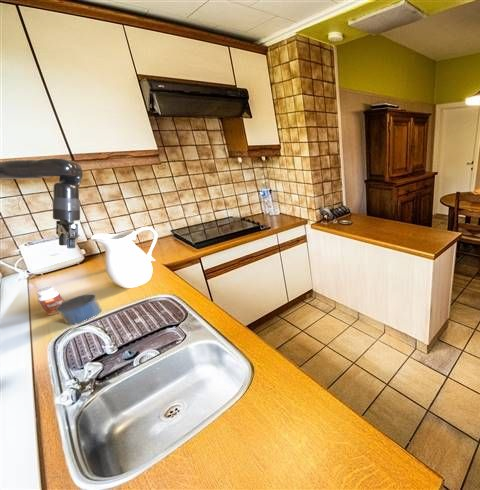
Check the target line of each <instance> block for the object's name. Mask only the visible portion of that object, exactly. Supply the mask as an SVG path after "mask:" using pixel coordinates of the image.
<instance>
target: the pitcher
mask: <svg viewBox="0 0 480 490" xmlns="http://www.w3.org/2000/svg"><path fill="white" fill-rule="evenodd" d="M143 231H149V232H151V233H152V235H153V239H152V242H151V244H150V247H149V249H148V251H147V253H145V252H144V250H143V249H141V248H140V247H139V246H138V245H137V244H135V242H134V241H136V240H137V238H136V236H137V235H138V234H139V233H141V232H143ZM158 237H159V236H158V233H157V231H156V230H155V229H154V228H153V227H151V226H141V227H139V228H137V229H135V230H131V229H130V230H125V231H122V232H119V233H96V234H94V235H92V236H91V237H90V239H89V240H90V241H92V242H97V243H99V244H101V245H102V246H103V247H104V250H105V251H104V252H105V254H104V269H105V272H106V274H107V276H108V277H109V279H110V280H111V282H112V283H114V284H115V285H117V286H119V287H121V288H123V289H132V288H137V287H140V286H143V285H144V284H147V283H148V282H149V281H150V280H151V279H152V275H153V265H152V262H155V261H156V259H154V257H152V252H153V250H154V248H155V246H156V243H157V241H158Z"/></svg>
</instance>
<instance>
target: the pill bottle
mask: <svg viewBox="0 0 480 490" xmlns="http://www.w3.org/2000/svg"><path fill="white" fill-rule="evenodd" d="M35 292H36V295H38V296H37V301H38V303H39V304H40V306H41V307H42V309H43V310H44V311H45V312H44V313H46V314H47V315H49V316H52V315H57V314H60V313H59V312H58V311H57V310H56V308H57V307H58V306H59V305H61V304H62V303H64V302H65V301H64V299H63V297H62V296H61V294H60V292H59V291H57V290H55V289H54V287H53V286H47V287H43V288H40V289H38V290H36V291H35Z"/></svg>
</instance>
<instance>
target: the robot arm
mask: <svg viewBox="0 0 480 490" xmlns="http://www.w3.org/2000/svg"><path fill="white" fill-rule="evenodd" d="M83 175H84V174H83V168H82V166H81V165H80V164H79V163H77V162H76V161H73V160H69V159H65V158H57V157H56V158H43V159H17V160H16V159H15V160H5V161H0V180H16V179H18V180H29V179H30V180H31V179H32V180H33V179H45V178H49V177H52V178H53V177H58V181H57V182H54V184H53V192H52V193H53V197H52V219H53V220H55V226H56V227H55V230H56V231H55V234H56V235H57V237H58V245H59V246H66V248H67V249H76V240H77V239H79V223H75V221H77V222H78V221H80V220H81V202H80V186H81V183H82V179H83Z"/></svg>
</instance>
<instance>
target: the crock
mask: <svg viewBox="0 0 480 490" xmlns="http://www.w3.org/2000/svg"><path fill="white" fill-rule="evenodd" d="M56 310H57V311H58V312H59V313H58V314H59V315H60V316H61V317H62V319H63V320H64V322H65V324H67V325H69V324H73V325H76V324H75V323H78V324H80V323H79V322H82V321H84V320H86V319H89V318H91V317H93V316H95V315H97V314H98V315H100V314H101V313H102V312H103V308H102V307H101V306H100V303H99V302H98V300H97V296H96V295H95V294H93V293H90V294H83V295H80V296H79V295H78V296H76V297H73V298H70V299H68V300H66V301H64V303H62V304H61V305H59V306H58V307H57V308H56ZM99 313H100V314H99ZM98 315H97V316H98ZM95 317H96V316H95ZM82 323H83V322H82Z"/></svg>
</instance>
